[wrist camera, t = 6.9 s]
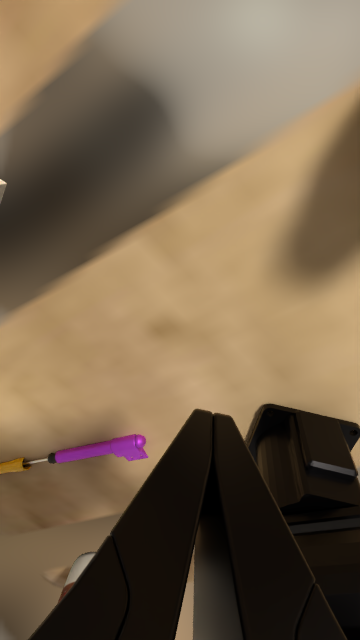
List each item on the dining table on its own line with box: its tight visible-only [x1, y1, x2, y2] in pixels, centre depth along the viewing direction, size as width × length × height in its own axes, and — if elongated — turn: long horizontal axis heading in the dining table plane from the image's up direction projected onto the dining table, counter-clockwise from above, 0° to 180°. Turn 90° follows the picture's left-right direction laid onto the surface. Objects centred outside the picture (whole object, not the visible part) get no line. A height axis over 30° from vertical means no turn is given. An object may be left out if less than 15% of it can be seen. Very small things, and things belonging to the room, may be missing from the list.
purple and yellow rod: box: [0, 434, 148, 474], centre depth 28 cm, size 3×1×16 cm
